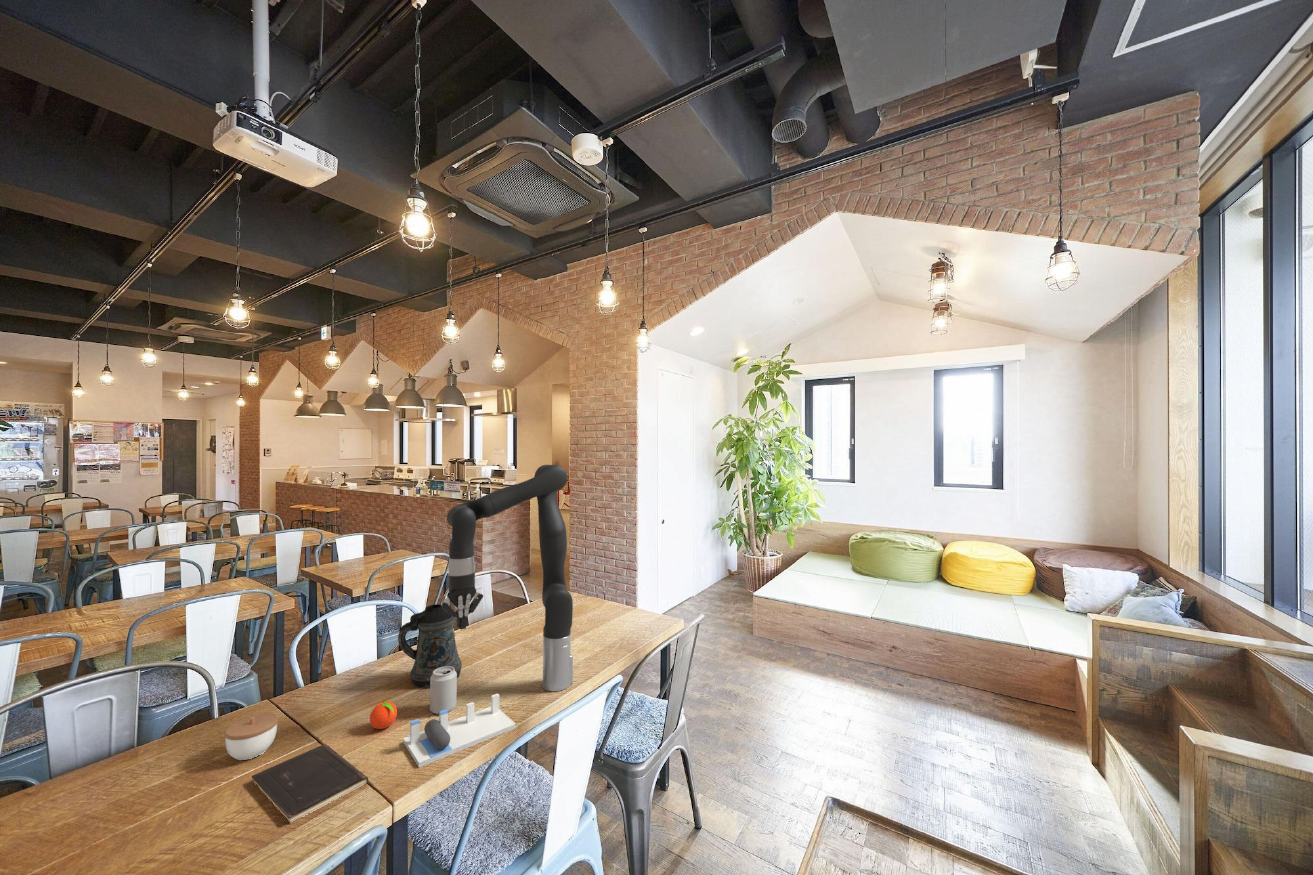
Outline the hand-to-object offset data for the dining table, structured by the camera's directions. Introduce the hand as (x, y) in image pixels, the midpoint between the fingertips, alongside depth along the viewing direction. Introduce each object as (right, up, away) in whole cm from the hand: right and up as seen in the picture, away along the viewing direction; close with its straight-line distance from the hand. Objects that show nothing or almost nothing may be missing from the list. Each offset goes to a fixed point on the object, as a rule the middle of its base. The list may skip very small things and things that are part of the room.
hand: (462, 628), depth 147 cm
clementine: (-19, -26, -8) cm, 33 cm away
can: (-7, -26, +2) cm, 27 cm away
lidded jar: (-47, -25, -20) cm, 57 cm away
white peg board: (+4, -25, -12) cm, 28 cm away
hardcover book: (-24, -25, -31) cm, 47 cm away
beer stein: (-19, -27, +21) cm, 39 cm away
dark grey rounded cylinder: (0, -24, -17) cm, 29 cm away
